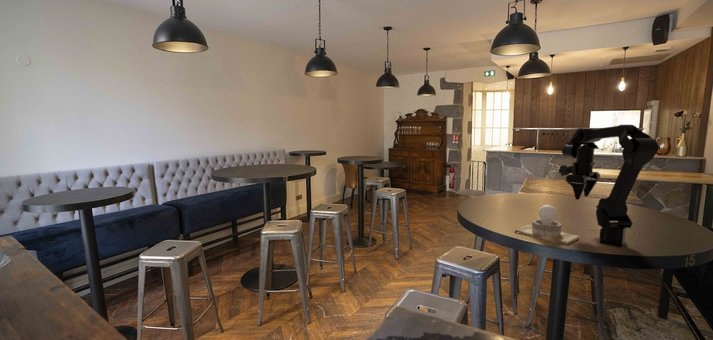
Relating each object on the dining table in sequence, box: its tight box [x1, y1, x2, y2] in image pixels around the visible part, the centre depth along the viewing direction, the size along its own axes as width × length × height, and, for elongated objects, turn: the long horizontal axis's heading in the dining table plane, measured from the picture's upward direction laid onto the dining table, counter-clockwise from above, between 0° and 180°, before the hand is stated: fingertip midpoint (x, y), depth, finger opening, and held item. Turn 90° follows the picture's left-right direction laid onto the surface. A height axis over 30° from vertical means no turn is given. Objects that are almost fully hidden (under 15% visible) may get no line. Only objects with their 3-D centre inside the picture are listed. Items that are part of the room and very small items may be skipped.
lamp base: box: [514, 218, 580, 246], centre depth 131 cm, size 19×11×5 cm, turn 38°
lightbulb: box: [537, 204, 558, 226], centre depth 131 cm, size 6×6×11 cm
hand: (581, 197), depth 138 cm, fingers open, 9 cm apart
